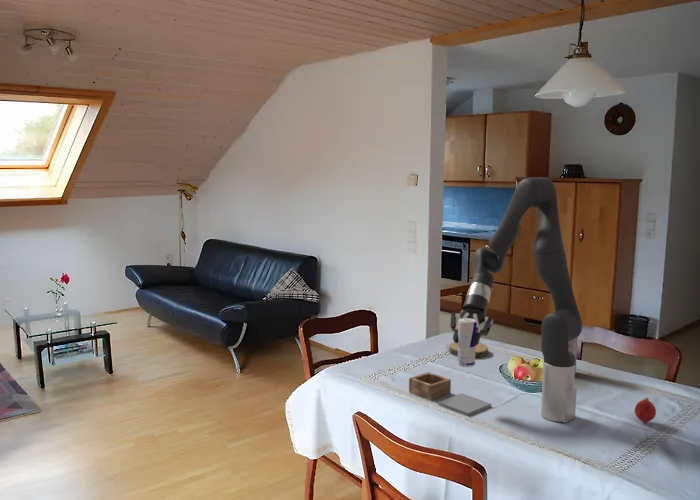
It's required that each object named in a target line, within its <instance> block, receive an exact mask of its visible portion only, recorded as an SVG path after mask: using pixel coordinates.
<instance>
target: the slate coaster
mask: <svg viewBox="0 0 700 500" xmlns="http://www.w3.org/2000/svg"><path fill="white" fill-rule="evenodd" d="M438 406H440V407H443V408H446V409H449V410H451V411H453V412H456V413H459V414H460V415H463V416H467V417H469V416H473V414H476V413H478V412H481V411H483V410H486V409H489V408H491V407H492V403H491V402H488V401H485V400H482V399H479V398H476V397H474V396H470V395H468V394H466V393H465V394H464V393H462V392H461V393H459V394H456V395H453V396H450V397H448V398H445V399H443V400H440V401H438Z"/></svg>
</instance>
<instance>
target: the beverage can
mask: <svg viewBox="0 0 700 500" xmlns="http://www.w3.org/2000/svg"><path fill="white" fill-rule="evenodd" d="M457 325H458V353H457V356H456V357H457V358H456V359H457V361H456V363H457V365H458V366H459V367H463V368H472V367H474V366H475V365H476V358H475V346H473V339H474V336H475V333H476V320H474V319H470V318H461V317H460V318H458V323H457Z"/></svg>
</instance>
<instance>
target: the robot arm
mask: <svg viewBox="0 0 700 500" xmlns="http://www.w3.org/2000/svg"><path fill="white" fill-rule="evenodd" d="M530 208H536V210H537V215H538V229H537V233H536V236H535V239H534V243H533V250H532V251H533V256H534V262H535V267H536V271H537V274H538V275H539V277H540V279H541V280H542V282H543V284H544V285H545V286H546V288H547V289H548V291H549V292H550V295H551V297H552V300H553V301H552V302H553V307H554V312H550V313H548V314H546V315H545V316H544V317H543V320H542V323H541V327H540V328H541V329H540V331H541V332H540V333H541V338H540V339H541V342H540V344H541V346H540V347H541V353H542V356H543V364H542V365H543V366H542V367H543V369H542V386H541V387H542V388H541V407H540V414H541V416H542V418H544V419H546V420H549V421H551V422H560V423H563V424H565V423H568V422H570V421H572V420H573V419H574V420H575V419H576V406H577V393H578V392H577V391H578V390H577V388H576V387H575V374H576V372H575V355H574V354H573V353H571V352H569V351H568V340H572V339H575V338H577V337H578V338H579V336H580V335H581V333H582V330H583V322H582V318H581V313H580V310H579V308H578V307H579V306H578V305H577V301H576V298H575V294H574V290H573V285H572V282H571V277H570V272H569V266H568V261H567V260H568V259H567V255H566V250H565V247H564V241H563V236H562V231H561V226H560V225H561V224H560V219H559V207H558V197H557V190H556V186H555V183H554V181H552V179H550V178H549V177H545V176H544V177H543V176H538V177H535V176H534V177H526V178H523V179H522V180H520V181H519V182H518V184H517V186H516V188H515V189H514V192H513V194H512V197H511V199H510V201H509V203H508V207H507V208H506V211H505V214H504V216H503V218H502V220H501V222H500V224H499V225H498V227H497V229H496V230H495V232H494V233H493V235H492V236H491V238H490V239H489V242H488V245H489V248H490V249H488V248H486V247H479V248H478V249H476V251H475V252H474V254H473V257H472V258H473V259H472V269H473V270H472V271H473V274H472V279H471V282H470V286H469V288H468V290H467V293H466V296H465V300H464V303H463V306H462V310H461V311H460V312H459V313H457V312H455V311H452V312H451V314H450V315H451V317H450V328H451V332H454V333H453V335H452V340H453V342H455V343H458V324H457V321H459V319H461V318H470V319H474V320H476V333H475V336H474V339H473V346H476V345H478V344H479V343H480V339H481V338H482V336H484V337H486V336H488V334H489V332H490V330H491V328H492V326H493V324H494V319H493V317H492V316H486V314H487V310H488V306H489V303H490V300H491V292H492V290H493V285H494V281H495V279H494V278H495V277H494V275H493V274H498V273H500V272H501V271H502V269H503V268H504V266H505V261H506V257H507V254H508V252H509V250H510V249H511V247H512V246H513V244H514V243H515V241H516V240H517V239H518V237H519V234H520V227H521V226H520V223H521V220H522V217H523V216H524V215H525V213H526V212H528V210H529V209H530ZM483 322H485V324H484V326H483V328H482V329H481V324H483Z"/></svg>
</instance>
